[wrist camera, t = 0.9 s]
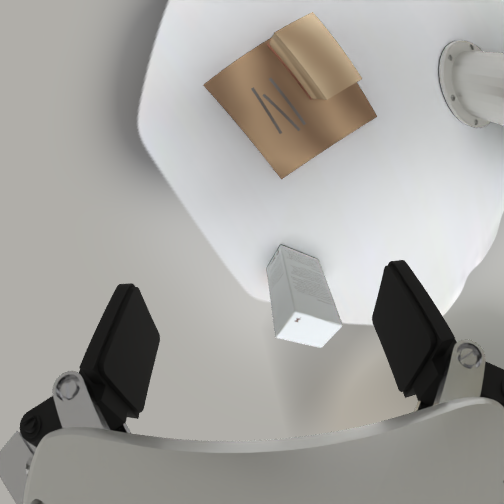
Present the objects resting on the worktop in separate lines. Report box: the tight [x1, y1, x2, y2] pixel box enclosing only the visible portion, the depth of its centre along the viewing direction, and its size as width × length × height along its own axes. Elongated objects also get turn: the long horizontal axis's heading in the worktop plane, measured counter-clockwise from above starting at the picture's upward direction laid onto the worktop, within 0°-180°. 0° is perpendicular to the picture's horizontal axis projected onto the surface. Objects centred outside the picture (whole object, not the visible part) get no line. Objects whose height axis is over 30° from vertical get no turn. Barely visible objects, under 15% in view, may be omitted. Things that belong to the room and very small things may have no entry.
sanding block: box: [267, 12, 362, 100], centre depth 19 cm, size 4×7×6 cm, turn 37°
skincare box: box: [267, 245, 342, 348], centre depth 32 cm, size 6×4×12 cm
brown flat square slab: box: [204, 38, 377, 179], centre depth 25 cm, size 13×13×2 cm
